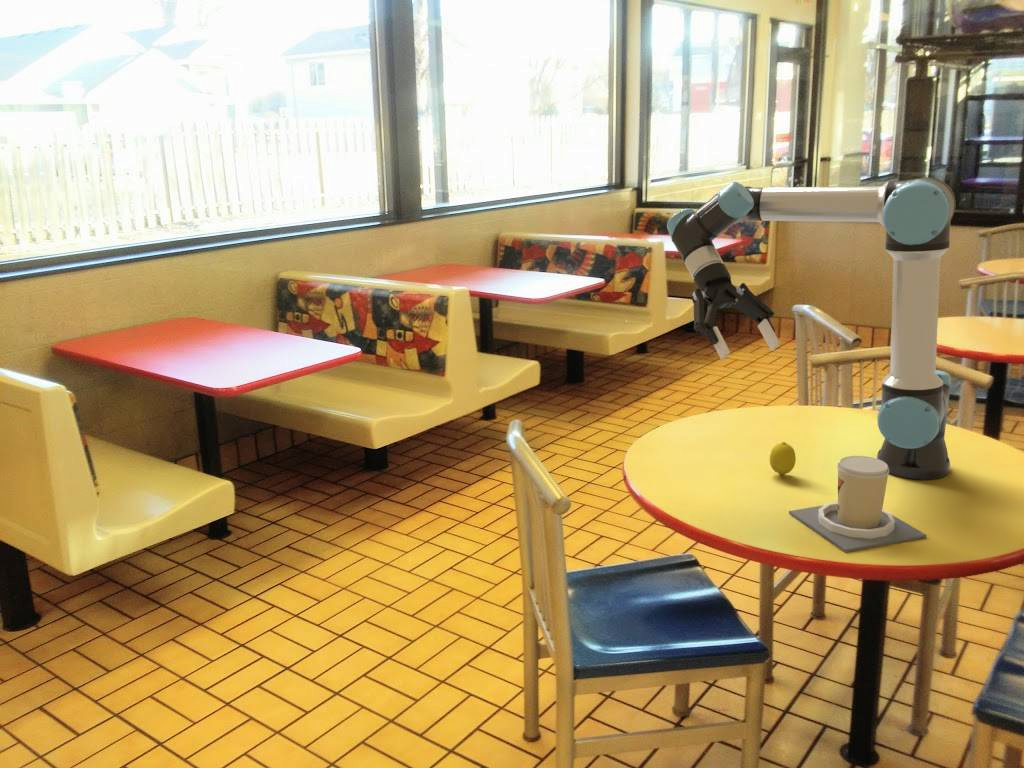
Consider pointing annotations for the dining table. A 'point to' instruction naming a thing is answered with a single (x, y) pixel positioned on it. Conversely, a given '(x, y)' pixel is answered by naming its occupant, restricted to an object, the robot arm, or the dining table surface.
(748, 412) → the dining table surface
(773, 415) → the dining table surface
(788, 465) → the lemon
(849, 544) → the cup tray
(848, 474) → the coffee cup
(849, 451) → the dining table surface
